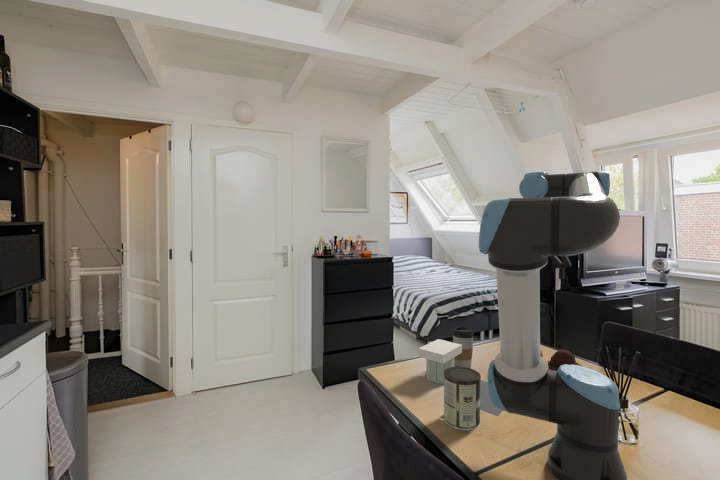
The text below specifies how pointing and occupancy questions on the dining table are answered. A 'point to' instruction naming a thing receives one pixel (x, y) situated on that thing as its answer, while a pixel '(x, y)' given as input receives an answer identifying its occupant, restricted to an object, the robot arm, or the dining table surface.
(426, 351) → the lid
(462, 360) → the coffee cup
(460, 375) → the coffee can
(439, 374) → the ribbed green pot
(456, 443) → the dining table surface
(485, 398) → the mat
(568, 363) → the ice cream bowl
